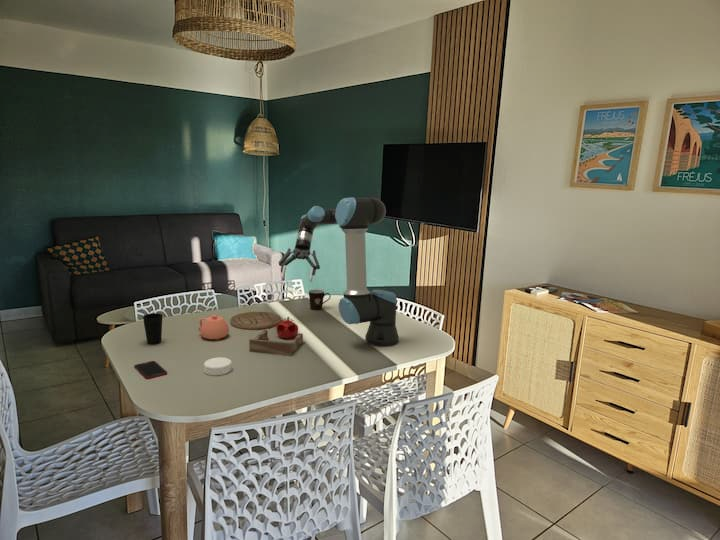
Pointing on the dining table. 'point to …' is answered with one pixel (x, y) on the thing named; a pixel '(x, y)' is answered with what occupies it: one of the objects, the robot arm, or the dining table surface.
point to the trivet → (255, 320)
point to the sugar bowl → (213, 327)
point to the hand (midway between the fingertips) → (296, 279)
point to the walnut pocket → (274, 345)
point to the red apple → (287, 329)
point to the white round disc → (217, 366)
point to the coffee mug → (317, 299)
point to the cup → (153, 328)
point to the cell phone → (150, 370)
